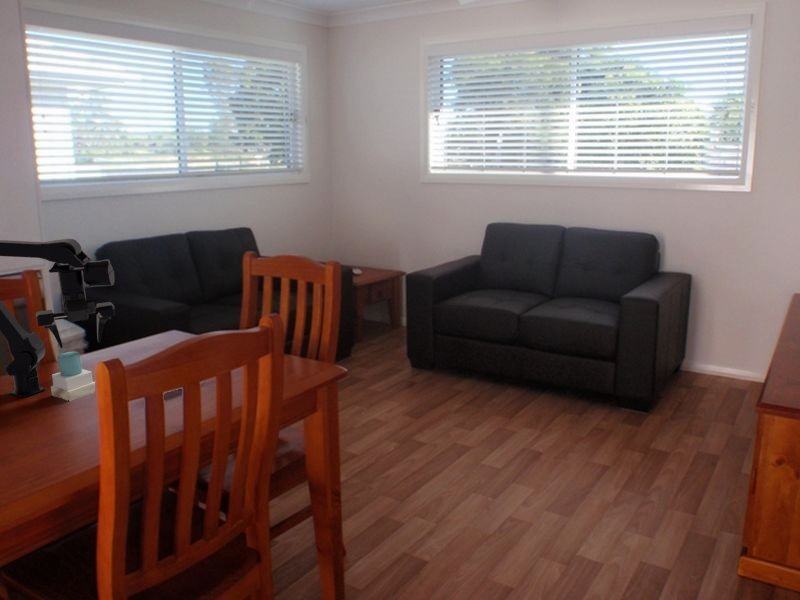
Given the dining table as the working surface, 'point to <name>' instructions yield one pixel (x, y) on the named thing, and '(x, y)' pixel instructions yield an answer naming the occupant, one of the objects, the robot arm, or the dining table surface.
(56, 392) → the base slab
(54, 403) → the dining table surface
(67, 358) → the light teal cube
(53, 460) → the dining table surface
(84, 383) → the top block
